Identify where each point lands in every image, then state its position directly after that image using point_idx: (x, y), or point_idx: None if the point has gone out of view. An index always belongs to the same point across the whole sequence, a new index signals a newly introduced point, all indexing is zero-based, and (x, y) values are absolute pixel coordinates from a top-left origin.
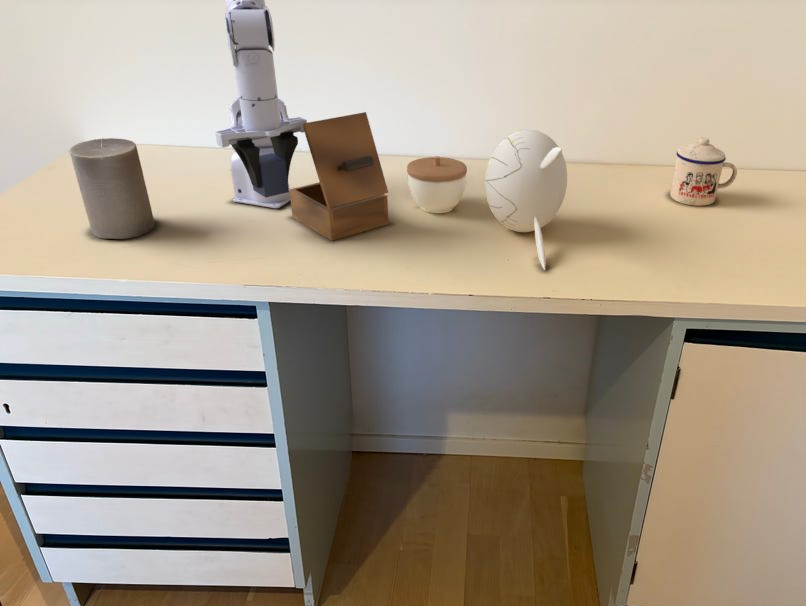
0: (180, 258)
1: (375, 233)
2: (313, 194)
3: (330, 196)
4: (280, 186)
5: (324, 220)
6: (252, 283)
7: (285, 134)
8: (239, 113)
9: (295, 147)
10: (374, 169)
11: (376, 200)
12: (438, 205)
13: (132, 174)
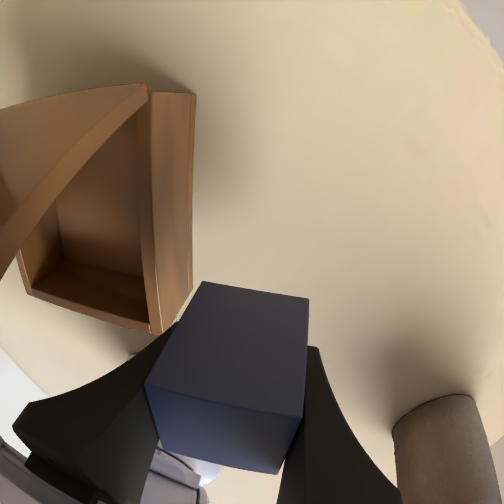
0: (497, 284)
1: (91, 75)
2: (114, 296)
3: (107, 101)
4: (229, 305)
5: (172, 127)
6: (495, 60)
7: (64, 484)
8: None
9: (53, 397)
10: None
11: None
12: None
13: (457, 489)
